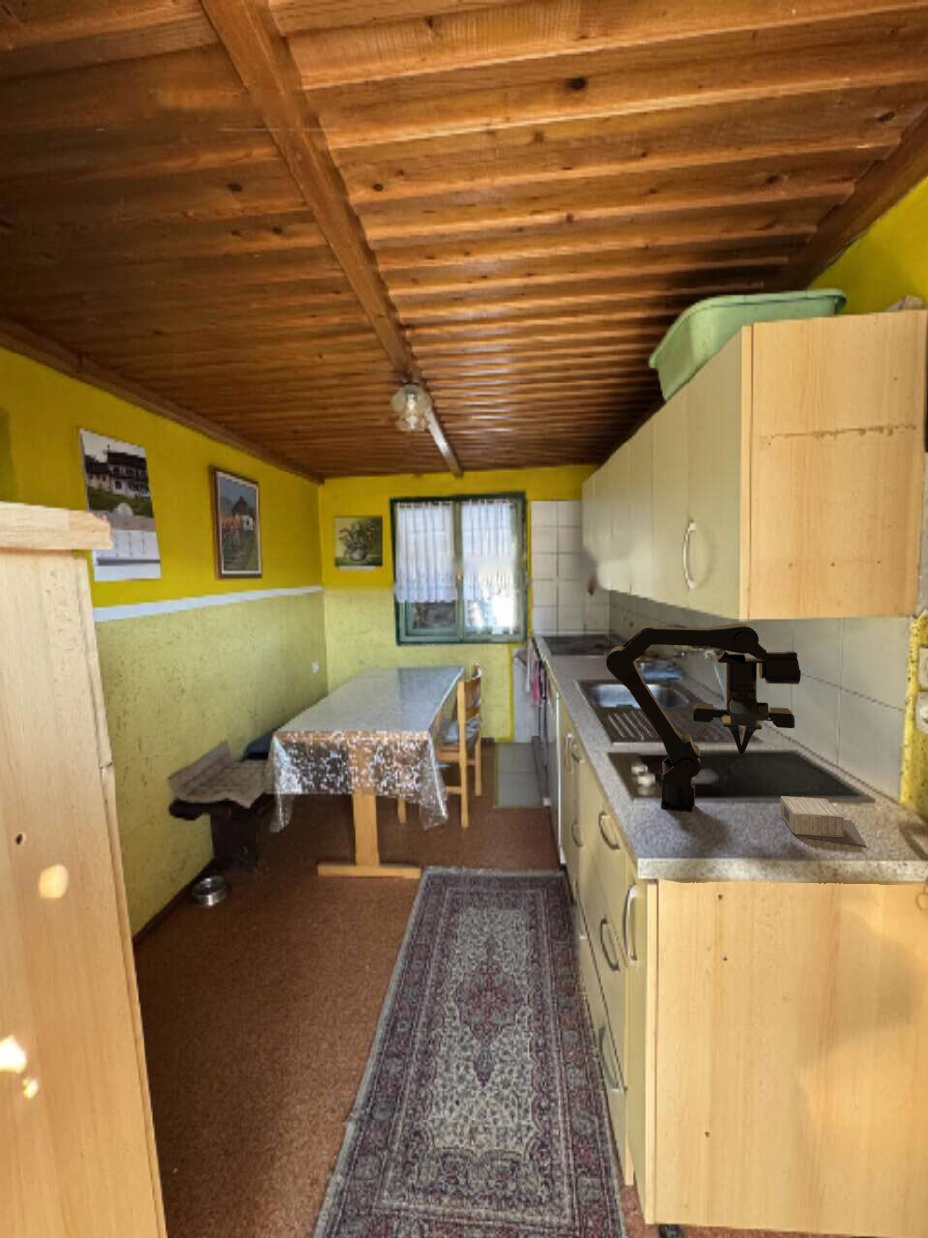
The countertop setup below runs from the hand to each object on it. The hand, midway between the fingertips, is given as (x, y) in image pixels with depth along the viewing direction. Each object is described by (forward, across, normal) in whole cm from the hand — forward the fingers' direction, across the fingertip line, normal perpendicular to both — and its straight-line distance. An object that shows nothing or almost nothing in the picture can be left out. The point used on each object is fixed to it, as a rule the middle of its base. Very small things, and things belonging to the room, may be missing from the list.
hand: (741, 753), depth 109 cm
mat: (+13, +14, -3) cm, 20 cm away
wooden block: (+10, +8, -4) cm, 14 cm away
